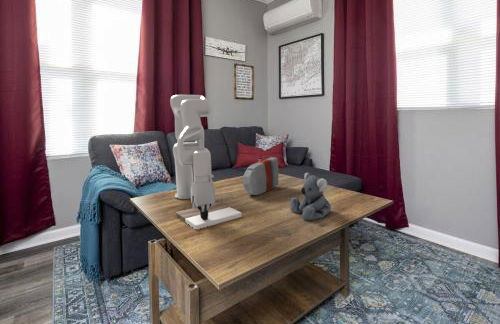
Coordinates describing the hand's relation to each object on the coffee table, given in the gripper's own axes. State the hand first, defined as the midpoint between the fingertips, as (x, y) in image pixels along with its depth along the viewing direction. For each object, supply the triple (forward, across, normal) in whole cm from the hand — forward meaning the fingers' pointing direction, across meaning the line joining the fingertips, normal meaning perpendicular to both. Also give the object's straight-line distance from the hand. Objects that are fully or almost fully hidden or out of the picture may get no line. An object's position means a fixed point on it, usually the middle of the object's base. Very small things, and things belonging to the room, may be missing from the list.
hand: (204, 218), depth 128 cm
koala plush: (+2, -46, +23) cm, 52 cm away
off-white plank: (+2, -6, -1) cm, 6 cm away
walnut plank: (+2, -6, -12) cm, 13 cm away
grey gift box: (+2, -52, -21) cm, 56 cm away
